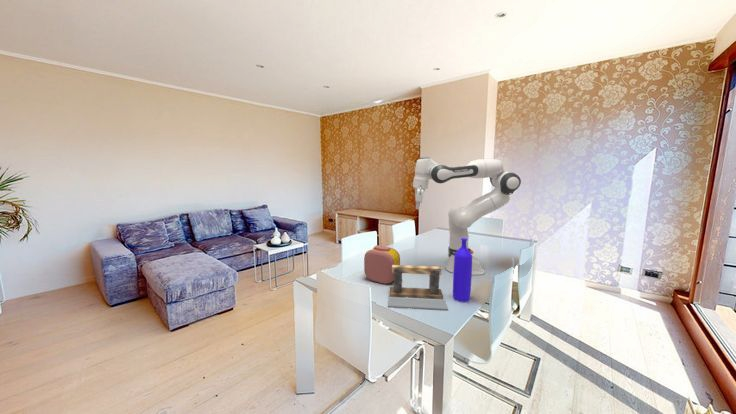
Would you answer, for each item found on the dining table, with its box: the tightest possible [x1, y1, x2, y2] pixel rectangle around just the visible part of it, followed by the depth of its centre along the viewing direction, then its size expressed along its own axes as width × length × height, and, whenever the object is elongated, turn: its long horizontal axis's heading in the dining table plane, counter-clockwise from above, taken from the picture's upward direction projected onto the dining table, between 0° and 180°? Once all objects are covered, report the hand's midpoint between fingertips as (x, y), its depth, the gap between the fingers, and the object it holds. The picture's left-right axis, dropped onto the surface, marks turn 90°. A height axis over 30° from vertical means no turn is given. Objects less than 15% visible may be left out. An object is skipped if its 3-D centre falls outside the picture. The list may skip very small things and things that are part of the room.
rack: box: [389, 266, 444, 300], centre depth 138 cm, size 26×8×14 cm, turn 84°
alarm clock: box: [363, 244, 401, 285], centre depth 155 cm, size 18×11×19 cm, turn 61°
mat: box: [387, 297, 449, 311], centre depth 128 cm, size 27×8×1 cm, turn 84°
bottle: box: [452, 238, 473, 303], centre depth 132 cm, size 8×8×30 cm
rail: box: [392, 264, 442, 276], centre depth 137 cm, size 24×3×3 cm, turn 84°
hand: (417, 207), depth 165 cm, fingers open, 8 cm apart
